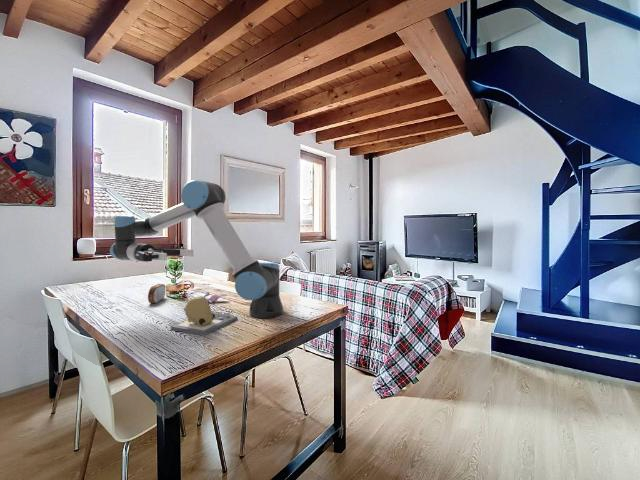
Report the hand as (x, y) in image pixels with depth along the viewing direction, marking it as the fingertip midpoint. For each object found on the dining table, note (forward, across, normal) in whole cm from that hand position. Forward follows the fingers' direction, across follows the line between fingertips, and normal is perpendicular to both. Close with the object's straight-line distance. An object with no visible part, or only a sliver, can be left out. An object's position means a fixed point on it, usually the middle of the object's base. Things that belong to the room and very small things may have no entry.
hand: (180, 254), depth 125 cm
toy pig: (+10, 0, -27) cm, 28 cm away
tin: (-37, -21, -28) cm, 51 cm away
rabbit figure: (-11, -30, -28) cm, 43 cm away
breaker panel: (+10, -3, -28) cm, 30 cm away
